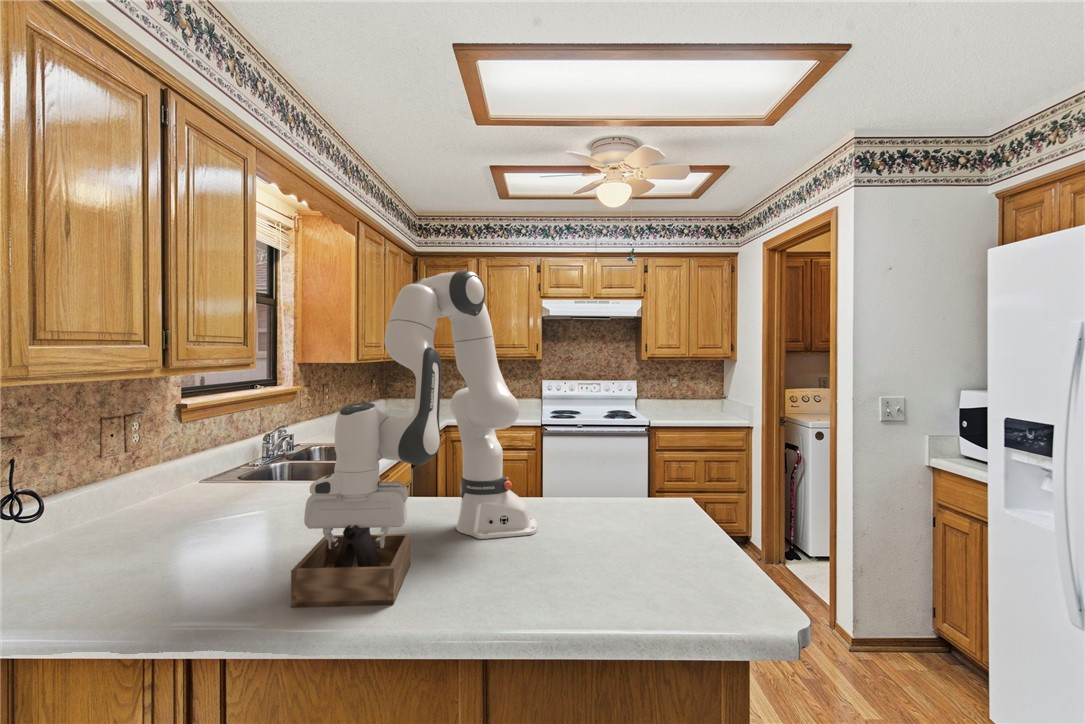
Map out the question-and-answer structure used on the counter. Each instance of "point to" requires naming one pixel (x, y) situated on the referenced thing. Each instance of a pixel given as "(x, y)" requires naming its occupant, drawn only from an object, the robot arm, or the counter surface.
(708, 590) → the counter surface
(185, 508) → the counter surface
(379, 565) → the phone stand
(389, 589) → the walnut box
